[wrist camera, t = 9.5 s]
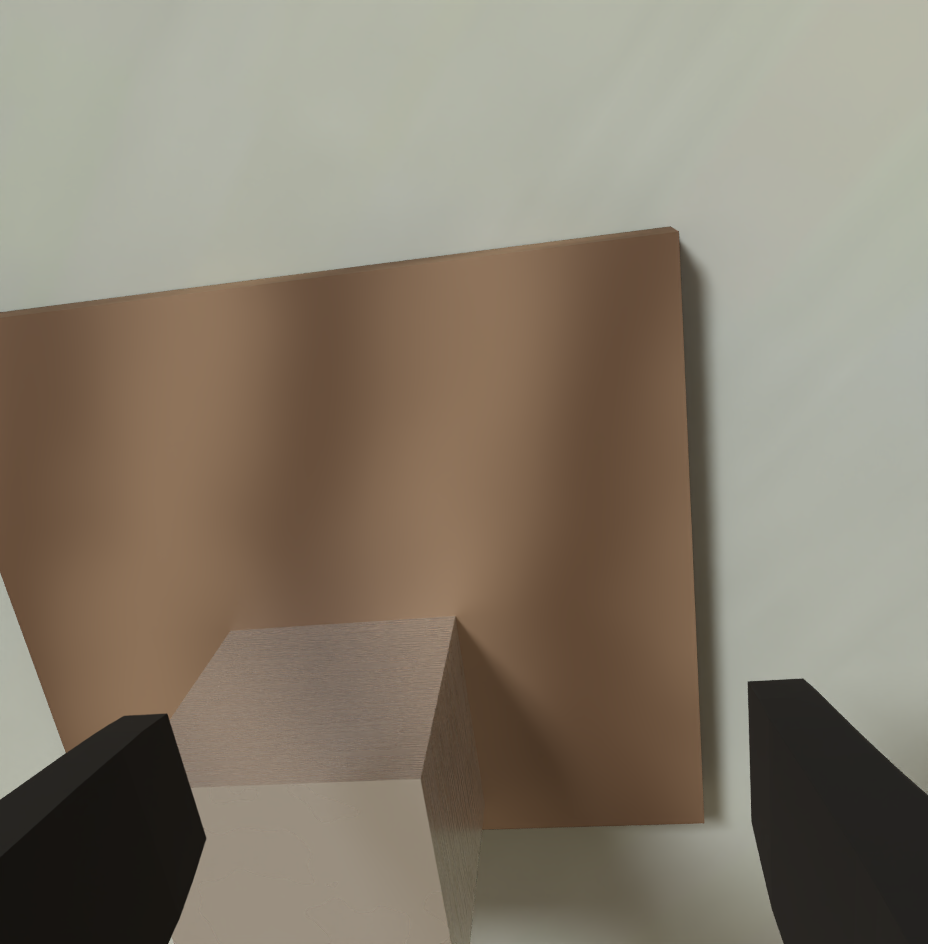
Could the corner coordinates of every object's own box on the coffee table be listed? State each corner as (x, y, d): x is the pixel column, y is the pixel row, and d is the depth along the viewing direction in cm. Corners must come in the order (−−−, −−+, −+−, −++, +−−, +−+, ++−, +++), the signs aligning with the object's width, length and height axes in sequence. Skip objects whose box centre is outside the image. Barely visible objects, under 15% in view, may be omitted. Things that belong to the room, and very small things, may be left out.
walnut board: (670, 226, 17) (718, 255, 12) (696, 788, 21) (738, 973, 16) (-50, 319, 19) (-260, 375, 14) (119, 808, 24) (6, 976, 19)
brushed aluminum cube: (455, 615, 19) (420, 778, 14) (484, 804, 21) (462, 1008, 16) (230, 630, 20) (121, 790, 15) (278, 811, 21) (196, 1007, 16)
